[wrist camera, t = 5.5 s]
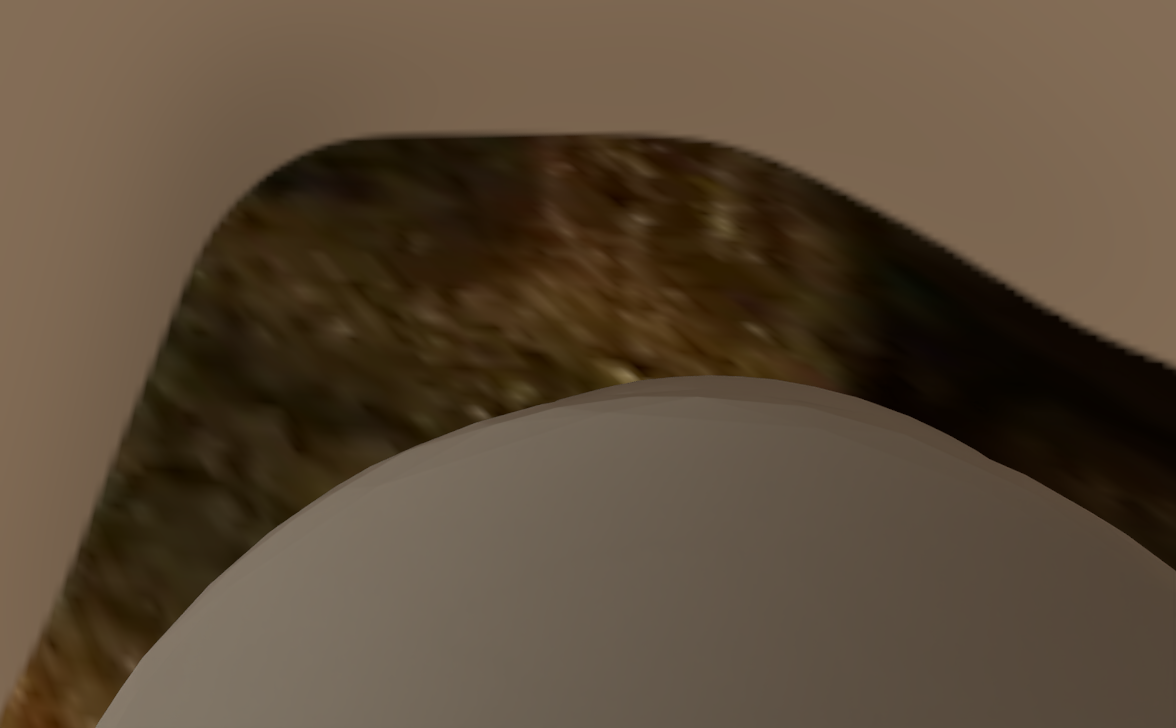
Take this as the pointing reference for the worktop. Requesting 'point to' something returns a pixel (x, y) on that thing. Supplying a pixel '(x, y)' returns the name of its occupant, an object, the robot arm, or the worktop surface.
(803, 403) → the supplement bottle
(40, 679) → the worktop surface
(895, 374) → the worktop surface
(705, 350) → the worktop surface
